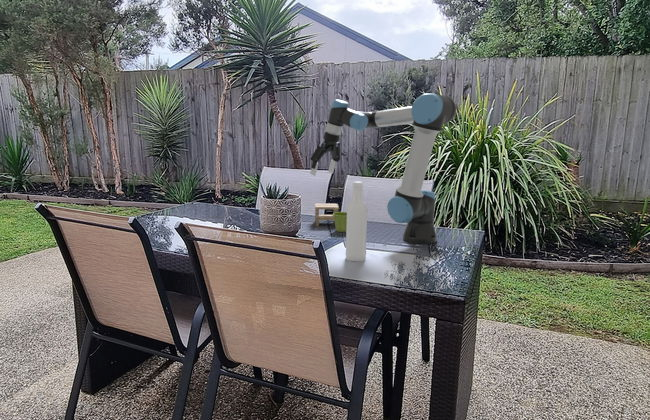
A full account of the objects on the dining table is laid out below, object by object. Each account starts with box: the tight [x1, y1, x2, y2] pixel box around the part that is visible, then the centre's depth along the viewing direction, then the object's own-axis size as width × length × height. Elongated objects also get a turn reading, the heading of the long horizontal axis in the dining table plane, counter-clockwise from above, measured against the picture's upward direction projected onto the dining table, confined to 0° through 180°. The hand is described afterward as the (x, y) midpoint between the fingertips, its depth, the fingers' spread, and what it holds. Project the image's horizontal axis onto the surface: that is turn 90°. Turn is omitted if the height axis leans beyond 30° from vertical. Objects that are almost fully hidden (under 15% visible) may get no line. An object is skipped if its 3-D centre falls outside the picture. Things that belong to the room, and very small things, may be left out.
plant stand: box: [314, 202, 340, 227], centre depth 229 cm, size 12×12×10 cm
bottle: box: [345, 181, 368, 263], centre depth 165 cm, size 8×8×30 cm
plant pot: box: [332, 211, 347, 233], centre depth 213 cm, size 9×9×9 cm
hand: (321, 173), depth 215 cm, fingers open, 13 cm apart
